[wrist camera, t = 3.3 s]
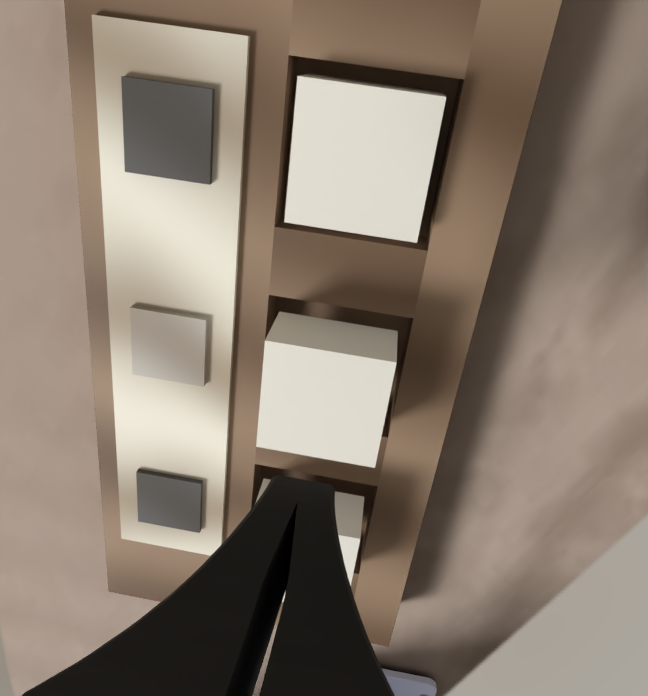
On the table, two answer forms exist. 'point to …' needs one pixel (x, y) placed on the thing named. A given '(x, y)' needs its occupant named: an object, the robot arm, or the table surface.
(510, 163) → the button board
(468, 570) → the table surface
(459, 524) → the table surface
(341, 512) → the button
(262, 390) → the button middle
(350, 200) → the button
